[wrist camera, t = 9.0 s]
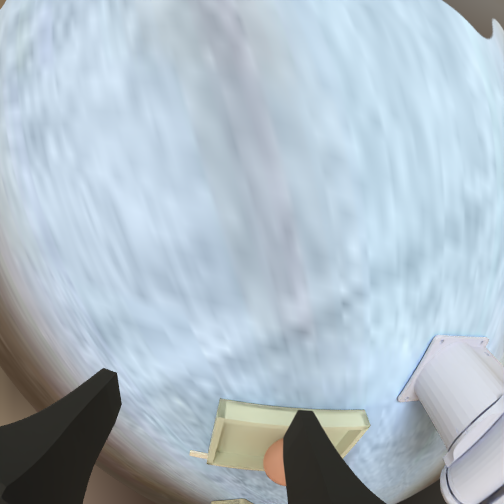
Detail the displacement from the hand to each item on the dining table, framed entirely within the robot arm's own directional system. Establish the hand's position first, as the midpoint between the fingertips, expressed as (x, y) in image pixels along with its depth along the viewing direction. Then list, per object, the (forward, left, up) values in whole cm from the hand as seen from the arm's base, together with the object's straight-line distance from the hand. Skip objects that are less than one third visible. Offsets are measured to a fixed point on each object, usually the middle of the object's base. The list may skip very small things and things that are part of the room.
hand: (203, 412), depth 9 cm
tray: (-8, +14, -9) cm, 19 cm away
